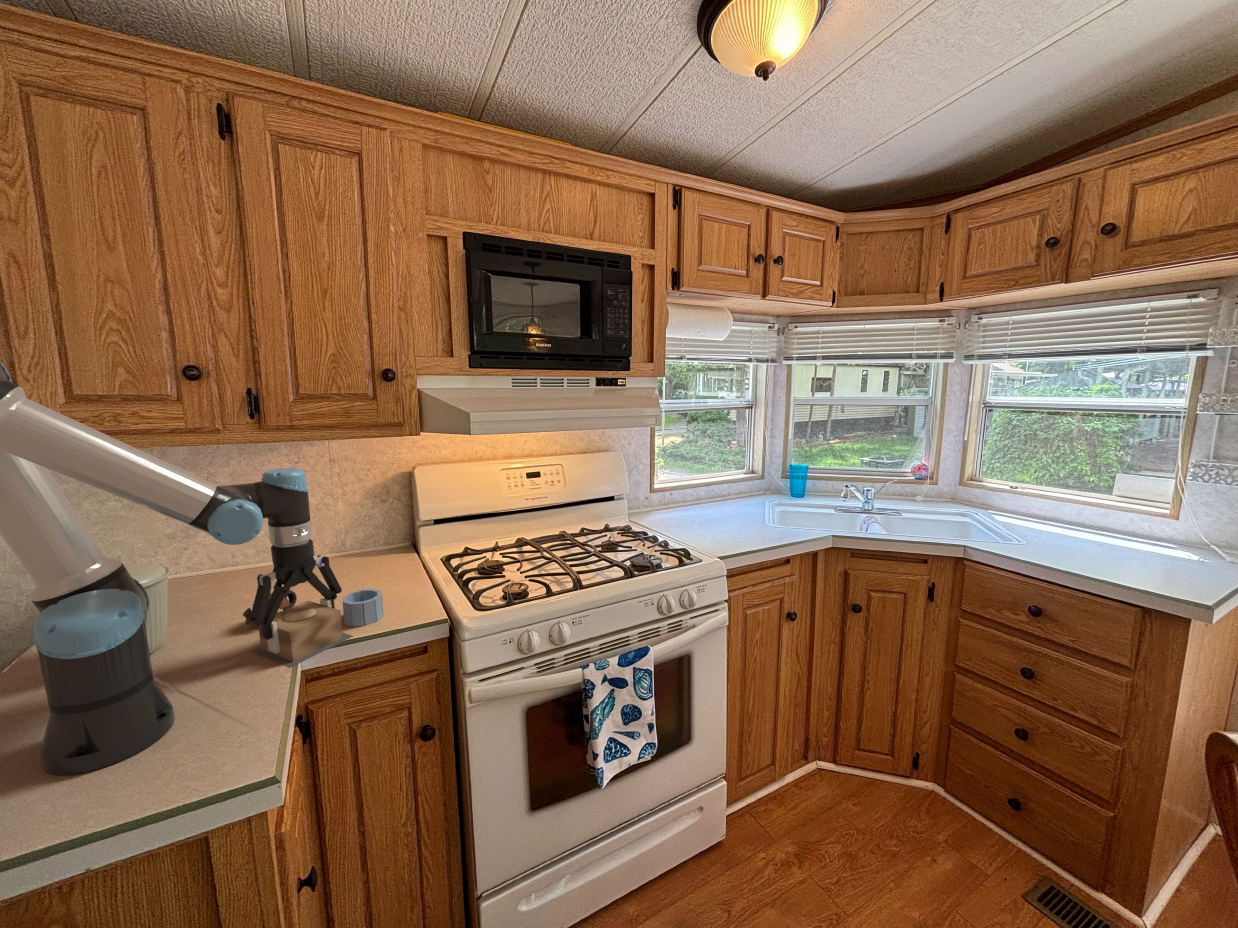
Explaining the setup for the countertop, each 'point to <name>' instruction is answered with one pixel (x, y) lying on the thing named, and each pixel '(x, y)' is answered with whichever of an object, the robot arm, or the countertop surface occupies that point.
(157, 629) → the canister
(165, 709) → the robot arm
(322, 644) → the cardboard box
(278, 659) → the mat
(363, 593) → the faceted blue cup
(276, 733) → the countertop surface
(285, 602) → the brown jointed arch
